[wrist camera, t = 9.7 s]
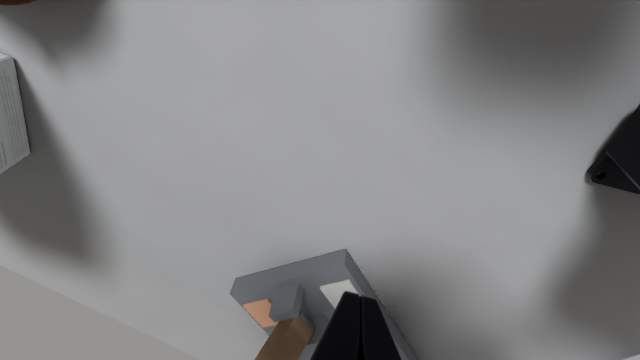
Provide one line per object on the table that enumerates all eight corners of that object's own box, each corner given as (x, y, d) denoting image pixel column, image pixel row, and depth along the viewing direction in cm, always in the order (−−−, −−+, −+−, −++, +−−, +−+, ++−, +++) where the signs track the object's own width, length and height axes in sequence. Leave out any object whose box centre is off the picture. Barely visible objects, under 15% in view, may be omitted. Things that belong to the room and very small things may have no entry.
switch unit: (346, 248, 27) (341, 293, 24) (431, 380, 36) (436, 426, 33) (235, 278, 30) (219, 320, 27) (338, 391, 39) (334, 433, 36)
